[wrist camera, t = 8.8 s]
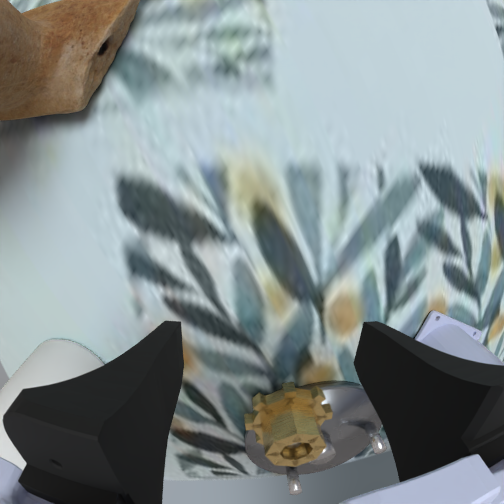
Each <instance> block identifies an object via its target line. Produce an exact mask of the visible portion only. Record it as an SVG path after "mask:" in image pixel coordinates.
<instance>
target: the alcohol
mask: <svg viewBox="0 0 504 504" xmlns="http://www.w3.org/2000/svg"><path fill="white" fill-rule="evenodd" d="M103 365H105V364H104V363H103V362H102V361H101V360H100V359H99V358H98V357H97V356H96V355H95V354H94V353H93V352H92V351H90V350H89V349H87V348H86V347H84V346H82V345H80V344H78V343H76V342H73V341H70V340H63V339H53V340H47V341H44V342H43V343H41V344H40V345H39V346H38V347H37V348H36V349H35V350H34V351H33V353H32V354H31V355H30V356H29V357H28V358H27V359H26V361H25V362H24V363H23V364H22V365H21V366H20V367H19V369H18V370H17V371H16V372H15V373H14V374H13V376H12V377H11V378H10V379H9V381H8V382H7V383H6V384H5V385H4V386H3V388H2V389H1V390H0V457H2V458H4V459H6V460H7V461H9V462H12V463H13V464H15V465H17V466H18V467H19V468H20V469H22V470H24V468H25V466H26V464H27V463H26V462H25V460H24V459H23V458H22V456H21V455H20V453H19V452H18V451H17V449H16V448H15V446H14V445H13V443H12V442H11V440H10V439H9V437H8V435H7V433H6V431H5V429H4V425H3V421H2V420H3V415H4V414H5V413H6V411H7V410H8V408H9V407H10V406H11V404H12V403H13V402H14V400H15V399H16V397H17V396H18V395H19V393H20V392H21V391H22V390H23V389H26V388H33V387H39V386H45V385H50V384H54V383H58V382H62V381H65V380H69V379H72V378H75V377H78V376H80V375H83V374H85V373H88V372H90V371H92V370H95V369H97V368H99V367H101V366H103Z"/></svg>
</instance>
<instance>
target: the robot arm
mask: <svg viewBox="0 0 504 504" xmlns="http://www.w3.org/2000/svg"><path fill="white" fill-rule="evenodd" d="M436 317H437V318H436ZM481 334H482V332H481V331H480V330H478V329H476V328H474V327H472V326H469V325H467V324H465V323H462V322H460V321H458V320H456V319H453V318H451V317H449V316H447V315H444V314H442V313H440V312H437V311H435V310H433V311H431V312H430V314H429V315H428V317H427V319H426V320H425V322H424V324H423V326H422V327H421V329H420V331H419V332H418V334H417V336H416V337H415V339H413V338H411V337H409V336H407V335H405V334H403V333H401V332H399V331H397V330H395V329H393V328H391V327H389V326H387V325H385V324H382V323H380V322H377V321H375V322H364V323H363V328H362V332H361V336H360V340H359V344H358V348H357V352H356V356H355V360H354V366H355V369H356V372H357V375H358V377H359V380H360V382H361V384H362V386H363V388H364V390H365V392H366V394H367V396H368V398H369V400H370V401H371V403H372V405H373V407H374V409H375V411H376V413H377V415H378V416H379V418H380V420H381V422H382V425H383V427H384V429H385V432H386V435H387V437H388V440H389V443H390V446H391V449H392V453H393V456H394V459H395V463H396V467H397V471H398V476H399V480H400V483H397V484H394V485H390V486H387V487H383V488H380V489H376V490H373V491H370V492H367V493H364V494H361V495H358V496H355V497H352V498H349V499H347V500H345V501H343V502H341V503H339V504H504V363H503V362H502V361H501V360H500V359H499V358H498V357H497V356H495V355H494V354H493V353H492V352H491V351H490V350H488V349H487V348H486V347H485V346H484V345H482V344H481V343H480V342H479V341H478V340H479V338H480V337H481ZM183 368H184V360H183V347H182V332H181V322H176V321H164V322H163V323H162V324H161V325H159V326H158V327H157V328H156V329H155V330H154V331H152V332H151V333H150V334H149V335H148V336H146V337H145V338H144V339H143V340H141V341H140V342H139V343H138V344H136V345H135V346H133V347H132V348H131V349H129V350H128V351H126V352H125V353H124V354H122V355H121V356H119V357H117V358H116V359H114V360H112V361H111V362H109V363H107V364H105V365H103V366H101V367H99V368H97V369H95V370H92V371H90V372H88V373H85V374H83V375H80V376H78V377H75V378H72V379H69V380H65V381H62V382H58V383H54V384H50V385H45V386H39V387H33V388H26V389H23V390H22V391H21V392H20V393H19V395H18V396H17V397H16V399H15V400H14V402H13V403H12V404H11V406H10V407H9V408H8V410H7V411H6V413H5V414H4V415H3V420H2V421H3V425H4V429H5V431H6V433H7V435H8V437H9V439H10V440H11V442H12V443H13V445H14V446H15V448H16V449H17V451H18V452H19V453H20V455H21V456H22V458H23V459H24V460H25V462H26V463H27V464H26V466H25V468H24V470H22V469H20V468H19V467H18V466H17V465H15V464H13V463H12V462H9V461H7V460H6V459H4V458H2V457H0V504H162V493H163V479H164V468H165V457H166V449H167V441H168V435H169V430H170V427H171V423H172V419H173V415H174V411H175V408H176V404H177V400H178V396H179V393H180V389H181V384H182V377H183Z"/></svg>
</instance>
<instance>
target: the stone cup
mask: <svg viewBox="0 0 504 504" xmlns="http://www.w3.org/2000/svg"><path fill="white" fill-rule="evenodd" d="M139 2H140V0H61V1H58V2H54V3H50V4H47V5H44V6H40V7H37V8H35V9H32V10H29V11H26V12H24V13H22V14H21V13H20V12H19V11H18V10H17V9H16V8H15V7H13V5H12V4H11V3H10V2H9V1H7V0H0V120H1V121H4V120H17V119H23V118H30V117H37V116H44V115H52V114H66V113H74V112H78V111H82V110H83V109H84V108H85V107H86V106H87V104H88V102H89V99H90V97H91V96H92V94H93V93H94V92H95V90H96V89H97V87H98V86H99V85H100V83H101V82H102V78H103V77H104V75H105V74H106V72H107V70H108V68H109V66H110V65H111V63H112V62H113V60H114V58H115V54H116V51H117V50H118V48H119V47H120V46H121V44H122V42H123V40H124V38H125V36H126V35H127V33H128V29H129V26H130V23H131V22H132V21H133V19H134V16H135V13H136V10H137V7H138V4H139Z"/></svg>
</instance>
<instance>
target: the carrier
mask: <svg viewBox="0 0 504 504" xmlns="http://www.w3.org/2000/svg"><path fill="white" fill-rule="evenodd" d="M314 386H317V387H319V388H320V389H322V390H323V392H324V395H325V398H326V399H325V400H324V401H323V402H322V404H327V403H329V404H330V406H331V409H332V411H333V415H332V419H329V420H325V421H324V422H323V423H322V425H321V426H320V427H321V430H322V433H323V436H324V439H325V442H326V446H327V447H326V448H325V449H324V450H323V452H322V453H321V454H320V455H319V456H318V458H317V459H315V460H312V461H310V462H307V463H304V464H301V465H299V466H296V467H293V466H278V465H274V464H273V463H272V462H271V461H270V460H269V459H268V458H267V457H266V456H265V450H264V445H262V444H260V443H258V442H256V435H255V431H254V430H245V448H246V453H247V455H248V457H249V458H250V460H251V461H252V462H253V463H254V464H256V465H257V466H259V467H261V468H263V469H265V470H267V471H270V472H274V473H278V474H287V480H288V485H289V490H290V494H291V495H297V494H300V493H301V492H302V490H301V485H300V481H299V476H298V475H299V474H309V473H315V472H319V471H323V470H326V469H330V468H332V467H335V466H337V465H340V464H342V463H344V462H346V461H347V460H349V459H351V458H353V457H354V456H356V455H357V454H358V453H360V452H361V451H362V450H363V449H365V448H366V447H367V446H368V445H369V444H370V443H371V445H372V448H373V450H374V452H375V454H380V453H382V452H384V451H385V450H386V448H387V447H386V445H385V443H384V441H383V439H382V437H381V435H380V434H379V430H380V428H381V425H382V422H381V420H380V418H379V416H378V415H377V413H376V411H375V409H374V407H373V405H372V403H371V401H370V400H369V398H368V396H367V394H366V392H365V390H364V388H363V386H362V385H360V384H357V383H353V382H347V381H324V382H318V383H313V384H309V385H304V386H301V387H298V388H299V389H305V390H311V389H312V388H313V387H314ZM300 444H301V442H296V443H293V444H291V445H288V446H286V447H288V448H296V447H298V446H300Z"/></svg>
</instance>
